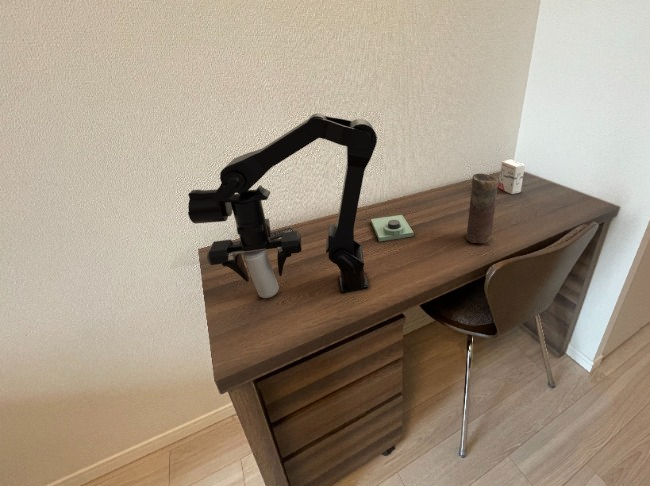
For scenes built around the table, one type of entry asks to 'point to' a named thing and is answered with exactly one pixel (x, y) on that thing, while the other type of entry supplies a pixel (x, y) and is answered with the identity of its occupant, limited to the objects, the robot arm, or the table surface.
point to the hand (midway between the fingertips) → (264, 277)
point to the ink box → (511, 176)
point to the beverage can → (261, 273)
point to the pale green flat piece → (390, 234)
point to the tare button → (393, 224)
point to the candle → (482, 208)
